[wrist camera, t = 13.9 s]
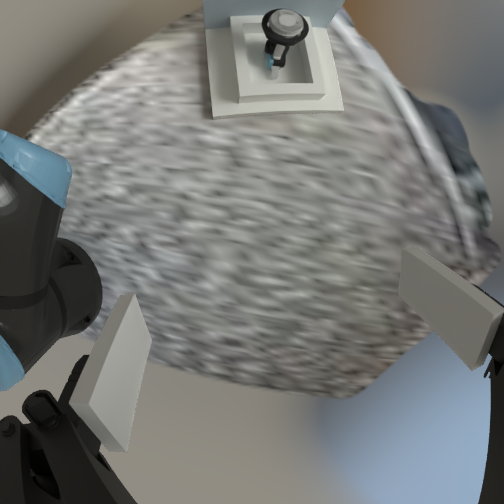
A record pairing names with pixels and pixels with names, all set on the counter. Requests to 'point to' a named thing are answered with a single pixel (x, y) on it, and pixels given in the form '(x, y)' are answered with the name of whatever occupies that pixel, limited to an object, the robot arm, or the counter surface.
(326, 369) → the counter surface
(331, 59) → the holder
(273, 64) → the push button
